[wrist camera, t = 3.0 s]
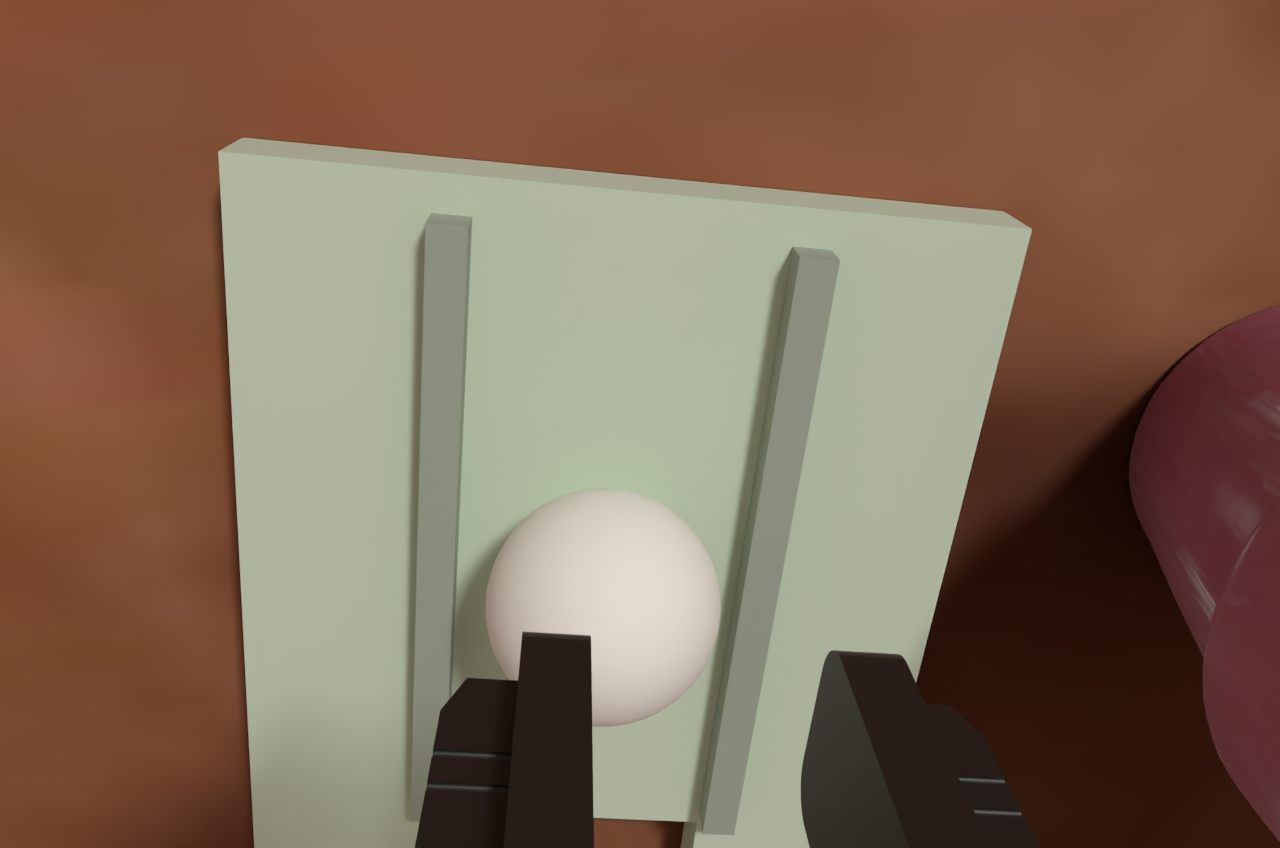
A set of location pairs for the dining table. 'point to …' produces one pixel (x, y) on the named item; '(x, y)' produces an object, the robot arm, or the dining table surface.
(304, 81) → the dining table surface
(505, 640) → the ball
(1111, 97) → the dining table surface
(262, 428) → the putting mat
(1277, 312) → the plant pot
